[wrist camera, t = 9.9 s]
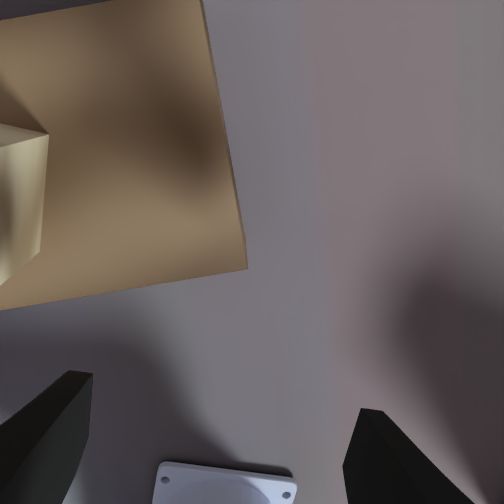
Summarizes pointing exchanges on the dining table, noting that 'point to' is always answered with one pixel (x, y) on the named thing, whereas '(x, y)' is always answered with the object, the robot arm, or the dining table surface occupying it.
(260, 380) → the dining table surface
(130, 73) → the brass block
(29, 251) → the birch cube
